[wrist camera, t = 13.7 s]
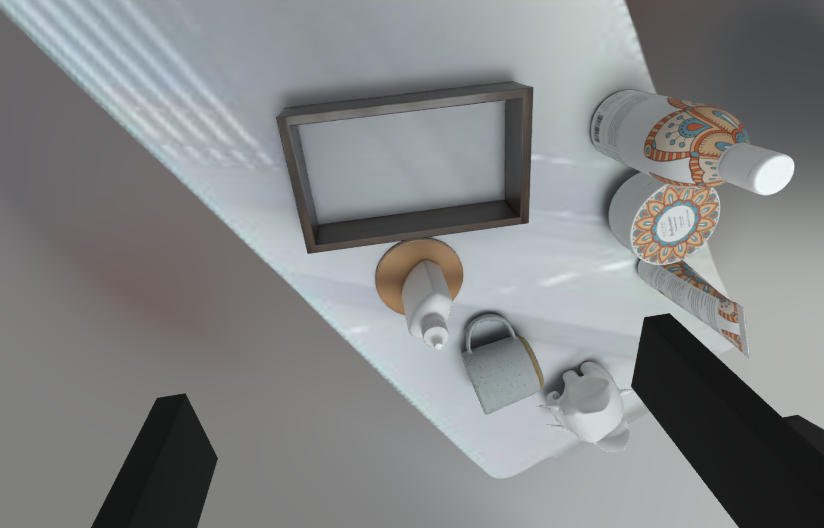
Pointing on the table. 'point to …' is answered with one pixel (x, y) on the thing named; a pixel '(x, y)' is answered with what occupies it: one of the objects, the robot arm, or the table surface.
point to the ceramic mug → (501, 368)
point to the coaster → (405, 259)
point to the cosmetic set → (680, 191)
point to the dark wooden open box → (424, 221)
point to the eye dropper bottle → (427, 304)
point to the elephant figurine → (591, 408)
